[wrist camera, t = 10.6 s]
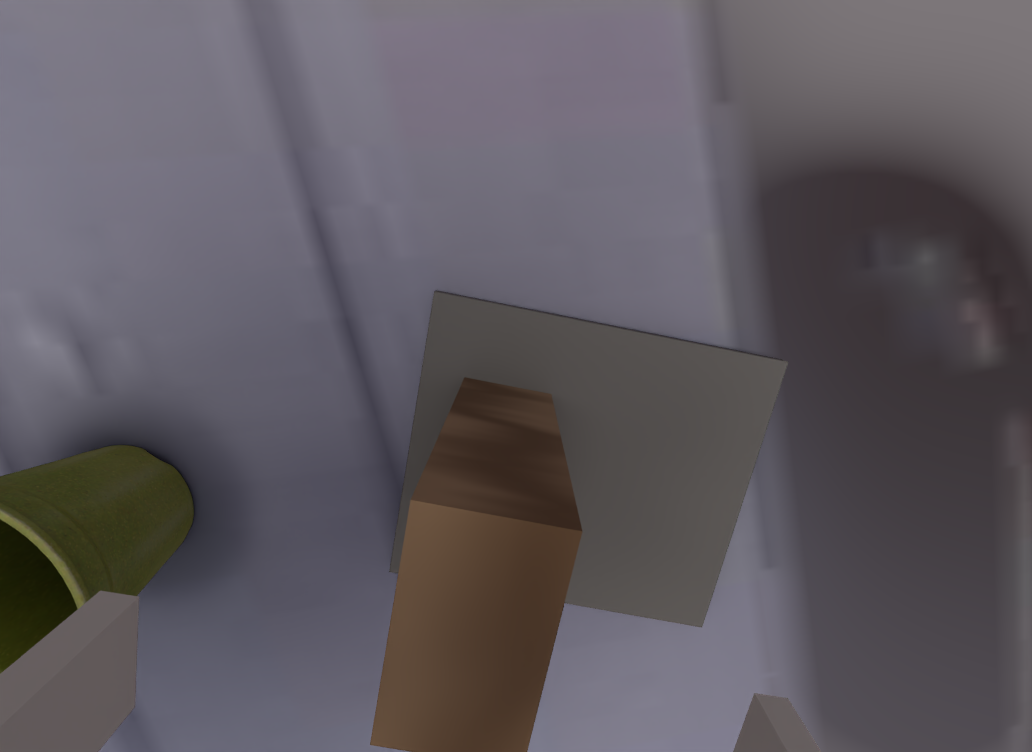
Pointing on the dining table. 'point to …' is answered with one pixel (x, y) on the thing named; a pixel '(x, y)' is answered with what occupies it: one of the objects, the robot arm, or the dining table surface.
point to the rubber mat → (616, 442)
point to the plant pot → (83, 536)
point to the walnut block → (480, 578)
